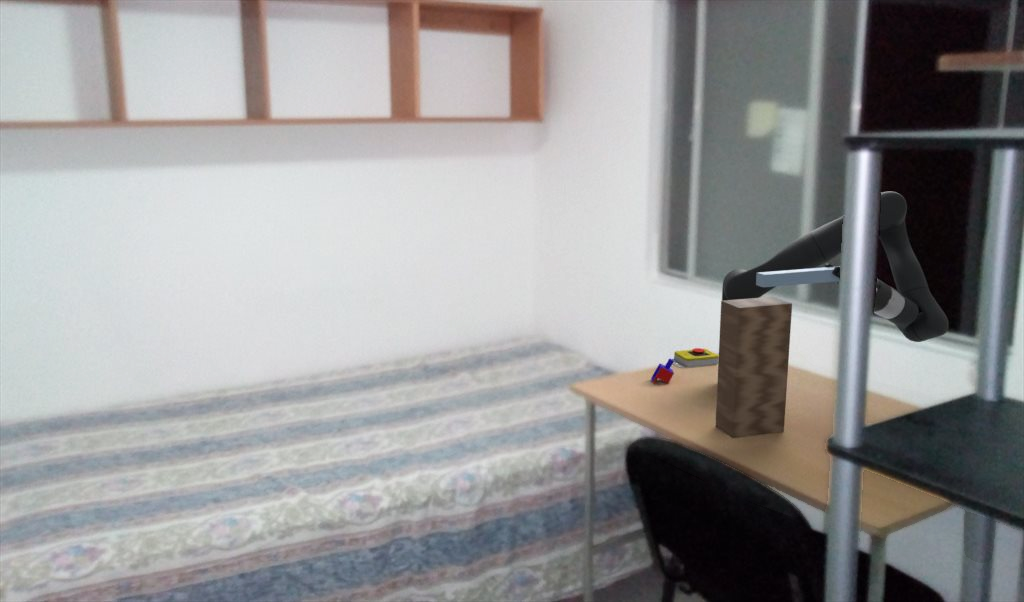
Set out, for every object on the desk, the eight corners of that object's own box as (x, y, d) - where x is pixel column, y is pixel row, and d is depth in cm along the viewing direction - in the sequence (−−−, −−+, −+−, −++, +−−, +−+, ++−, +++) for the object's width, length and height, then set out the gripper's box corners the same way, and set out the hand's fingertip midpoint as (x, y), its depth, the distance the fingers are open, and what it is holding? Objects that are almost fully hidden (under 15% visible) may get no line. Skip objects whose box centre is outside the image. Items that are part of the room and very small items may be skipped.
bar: (843, 277, 197) (844, 265, 196) (851, 280, 194) (852, 267, 193) (756, 284, 191) (756, 272, 190) (762, 287, 188) (763, 274, 188)
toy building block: (665, 388, 232) (678, 365, 231) (652, 382, 232) (665, 358, 231) (663, 384, 236) (677, 361, 234) (650, 378, 236) (664, 354, 234)
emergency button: (724, 351, 249) (680, 356, 245) (724, 365, 250) (680, 369, 246) (709, 344, 258) (667, 348, 254) (709, 357, 259) (666, 361, 255)
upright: (765, 420, 203) (772, 296, 196) (783, 431, 195) (792, 303, 188) (715, 426, 199) (721, 300, 192) (732, 438, 192) (738, 307, 185)
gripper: (868, 280, 206) (819, 250, 200) (908, 290, 192) (856, 259, 187) (854, 305, 206) (804, 276, 200) (892, 318, 193) (841, 287, 187)
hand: (830, 268), depth 194 cm, fingers closed on bar, 3 cm apart
